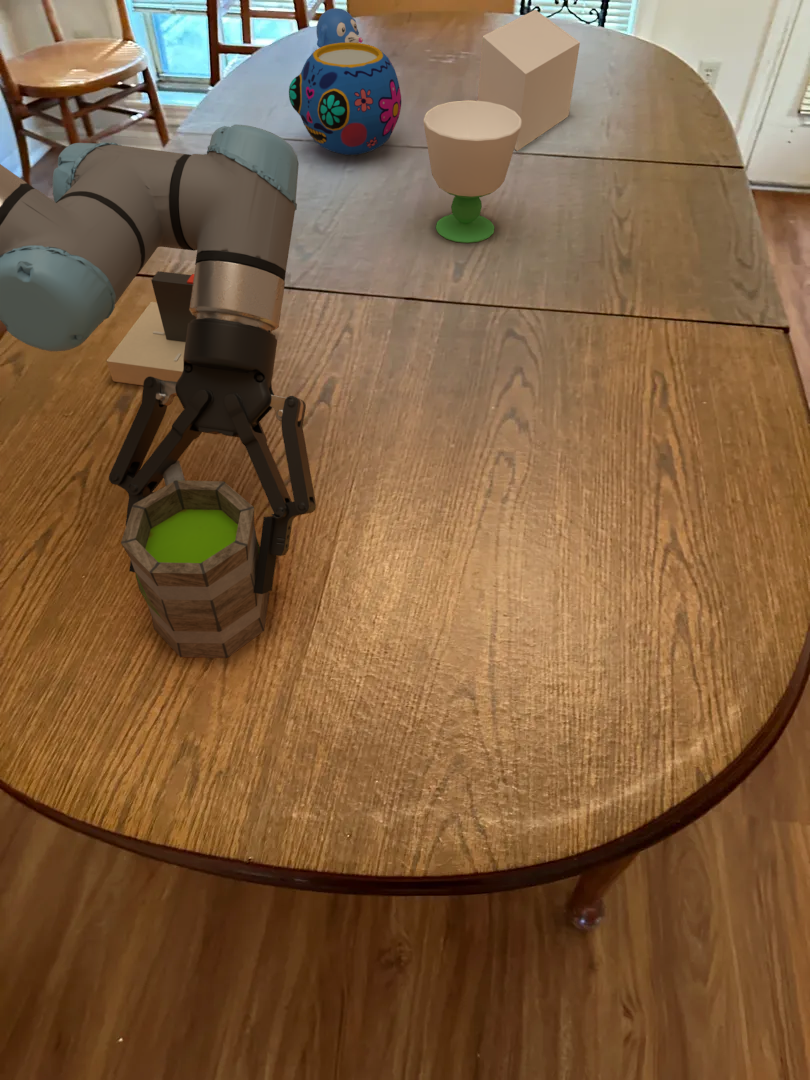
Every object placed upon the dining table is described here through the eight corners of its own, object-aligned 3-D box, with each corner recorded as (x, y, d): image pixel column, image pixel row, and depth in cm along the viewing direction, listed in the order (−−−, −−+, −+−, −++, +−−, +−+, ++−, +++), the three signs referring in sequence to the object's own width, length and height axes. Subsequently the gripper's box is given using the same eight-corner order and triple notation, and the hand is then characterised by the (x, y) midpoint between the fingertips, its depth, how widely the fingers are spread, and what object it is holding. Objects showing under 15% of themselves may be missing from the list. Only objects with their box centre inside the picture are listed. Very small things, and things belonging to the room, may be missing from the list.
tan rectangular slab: (112, 381, 95) (105, 359, 92) (156, 321, 103) (150, 300, 101) (239, 399, 93) (234, 377, 90) (272, 336, 101) (269, 315, 99)
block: (467, 147, 140) (473, 70, 130) (484, 76, 162) (490, 6, 153) (566, 155, 138) (579, 77, 129) (569, 82, 161) (580, 12, 151)
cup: (422, 251, 116) (425, 139, 104) (418, 207, 125) (420, 100, 113) (515, 250, 116) (528, 139, 104) (504, 207, 125) (515, 99, 113)
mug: (286, 639, 71) (272, 554, 62) (165, 677, 68) (132, 594, 59) (241, 518, 80) (223, 429, 71) (133, 547, 77) (101, 458, 68)
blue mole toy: (342, 70, 164) (340, 24, 158) (304, 56, 169) (300, 11, 163) (382, 56, 170) (382, 11, 163) (344, 43, 175) (342, -2, 169)
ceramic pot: (281, 146, 139) (270, 51, 128) (357, 120, 147) (354, 28, 136) (343, 180, 131) (338, 81, 119) (421, 150, 139) (423, 55, 127)
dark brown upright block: (166, 339, 95) (150, 278, 89) (172, 330, 97) (157, 269, 90) (209, 345, 95) (196, 283, 89) (215, 335, 96) (202, 274, 90)
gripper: (373, 350, 69) (338, 597, 71) (128, 319, 72) (100, 556, 73) (357, 333, 62) (318, 609, 63) (84, 299, 64) (54, 563, 66)
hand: (201, 581), depth 68 cm, fingers closed on mug, 10 cm apart
